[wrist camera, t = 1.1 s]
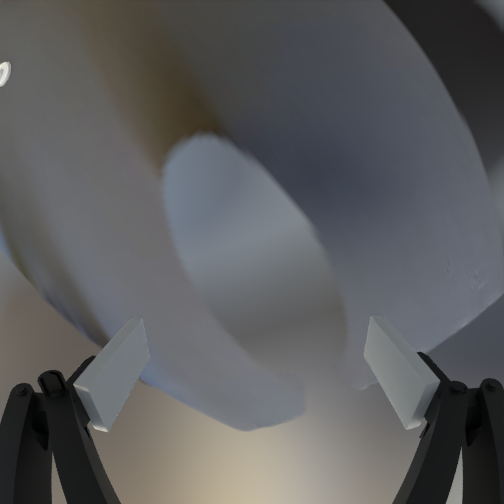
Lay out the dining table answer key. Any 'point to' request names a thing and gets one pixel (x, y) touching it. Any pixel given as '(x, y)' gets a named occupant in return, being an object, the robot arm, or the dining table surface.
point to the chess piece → (4, 72)
